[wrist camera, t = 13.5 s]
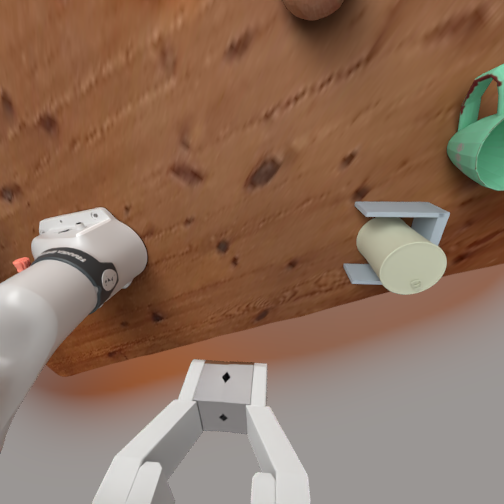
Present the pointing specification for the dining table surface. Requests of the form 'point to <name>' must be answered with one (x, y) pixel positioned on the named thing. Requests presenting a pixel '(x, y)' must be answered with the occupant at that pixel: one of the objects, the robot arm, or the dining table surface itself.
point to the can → (400, 255)
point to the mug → (481, 135)
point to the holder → (425, 223)
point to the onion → (312, 8)
